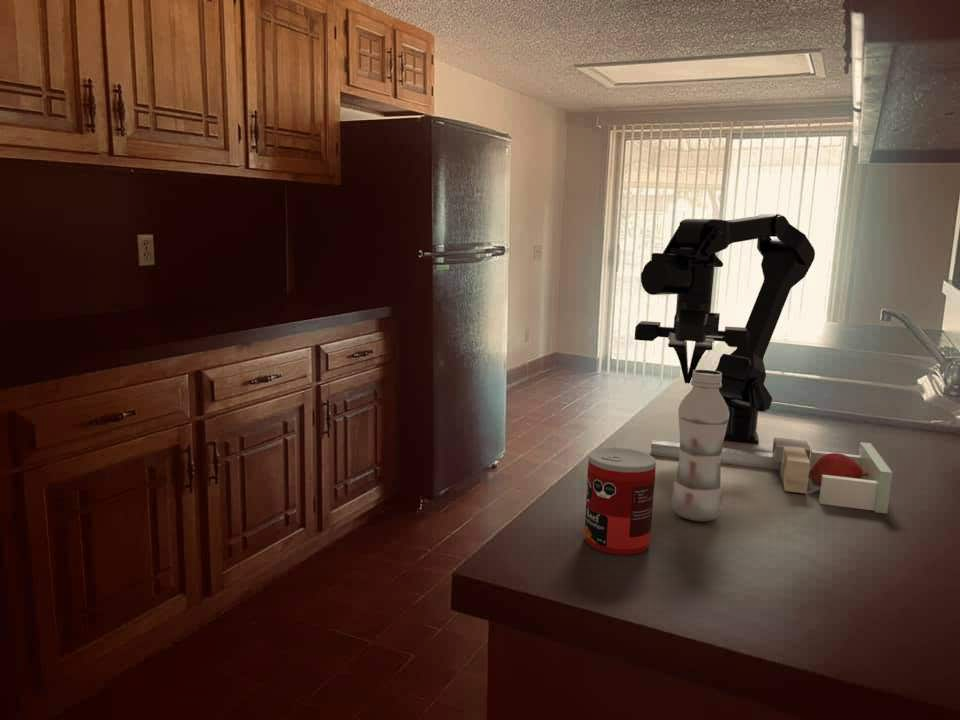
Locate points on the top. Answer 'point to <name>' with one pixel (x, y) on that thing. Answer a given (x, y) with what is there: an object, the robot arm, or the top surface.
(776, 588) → the top surface
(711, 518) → the plastic bottle
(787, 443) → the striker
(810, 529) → the top surface
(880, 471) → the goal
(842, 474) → the red round solid
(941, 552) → the top surface
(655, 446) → the rail
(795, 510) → the top surface
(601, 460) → the canned food
